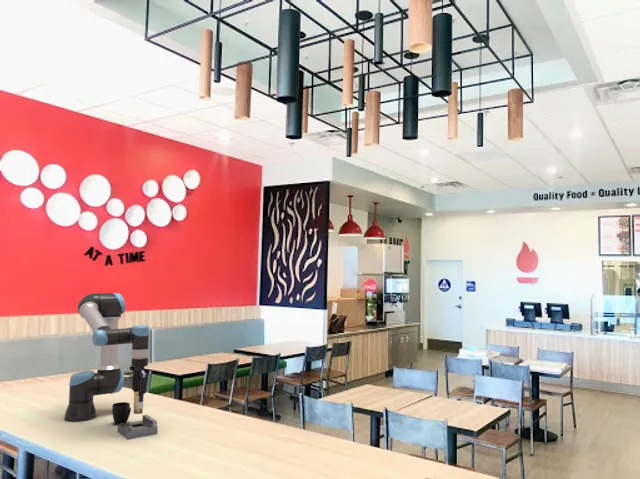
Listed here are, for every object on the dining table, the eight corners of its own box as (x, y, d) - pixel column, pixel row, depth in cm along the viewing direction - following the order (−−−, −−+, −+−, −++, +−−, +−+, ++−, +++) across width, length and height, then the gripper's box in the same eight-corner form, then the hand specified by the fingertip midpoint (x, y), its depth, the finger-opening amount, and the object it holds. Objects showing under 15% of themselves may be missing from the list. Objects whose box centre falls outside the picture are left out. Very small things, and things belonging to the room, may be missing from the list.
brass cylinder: (132, 412, 247) (133, 391, 247) (140, 411, 249) (141, 390, 250) (135, 414, 243) (136, 392, 244) (143, 413, 246) (144, 391, 247)
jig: (117, 431, 247) (118, 419, 247) (146, 426, 256) (147, 414, 256) (127, 439, 236) (127, 425, 236) (157, 433, 245) (157, 420, 245)
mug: (120, 428, 253) (121, 408, 254) (108, 423, 261) (109, 404, 262) (136, 424, 259) (136, 405, 260) (123, 420, 267) (124, 401, 268)
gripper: (126, 356, 253) (124, 405, 251) (138, 360, 239) (136, 412, 237) (141, 355, 257) (140, 403, 255) (154, 359, 244) (152, 409, 242)
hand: (138, 407), depth 246 cm, fingers closed on brass cylinder, 4 cm apart
